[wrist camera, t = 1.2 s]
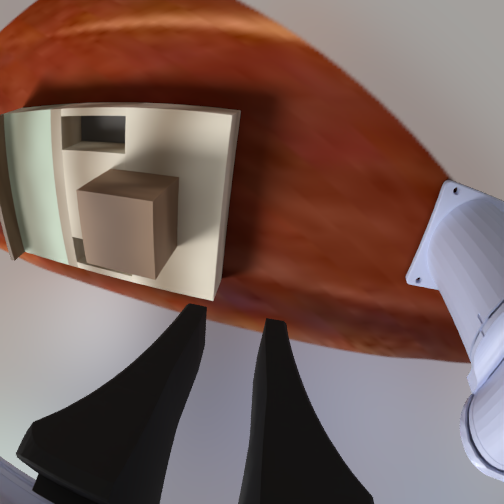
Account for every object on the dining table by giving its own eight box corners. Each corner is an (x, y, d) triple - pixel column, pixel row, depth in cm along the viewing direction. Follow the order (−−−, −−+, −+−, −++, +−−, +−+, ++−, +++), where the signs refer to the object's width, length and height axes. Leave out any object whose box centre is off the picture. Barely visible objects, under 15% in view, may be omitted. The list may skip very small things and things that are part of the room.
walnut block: (179, 177, 16) (152, 201, 13) (177, 246, 19) (155, 280, 16) (110, 168, 17) (76, 190, 14) (114, 233, 19) (86, 262, 16)
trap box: (241, 110, 16) (225, 118, 13) (221, 279, 23) (207, 315, 19) (22, 107, 17) (-14, 119, 14) (37, 236, 24) (11, 259, 20)
